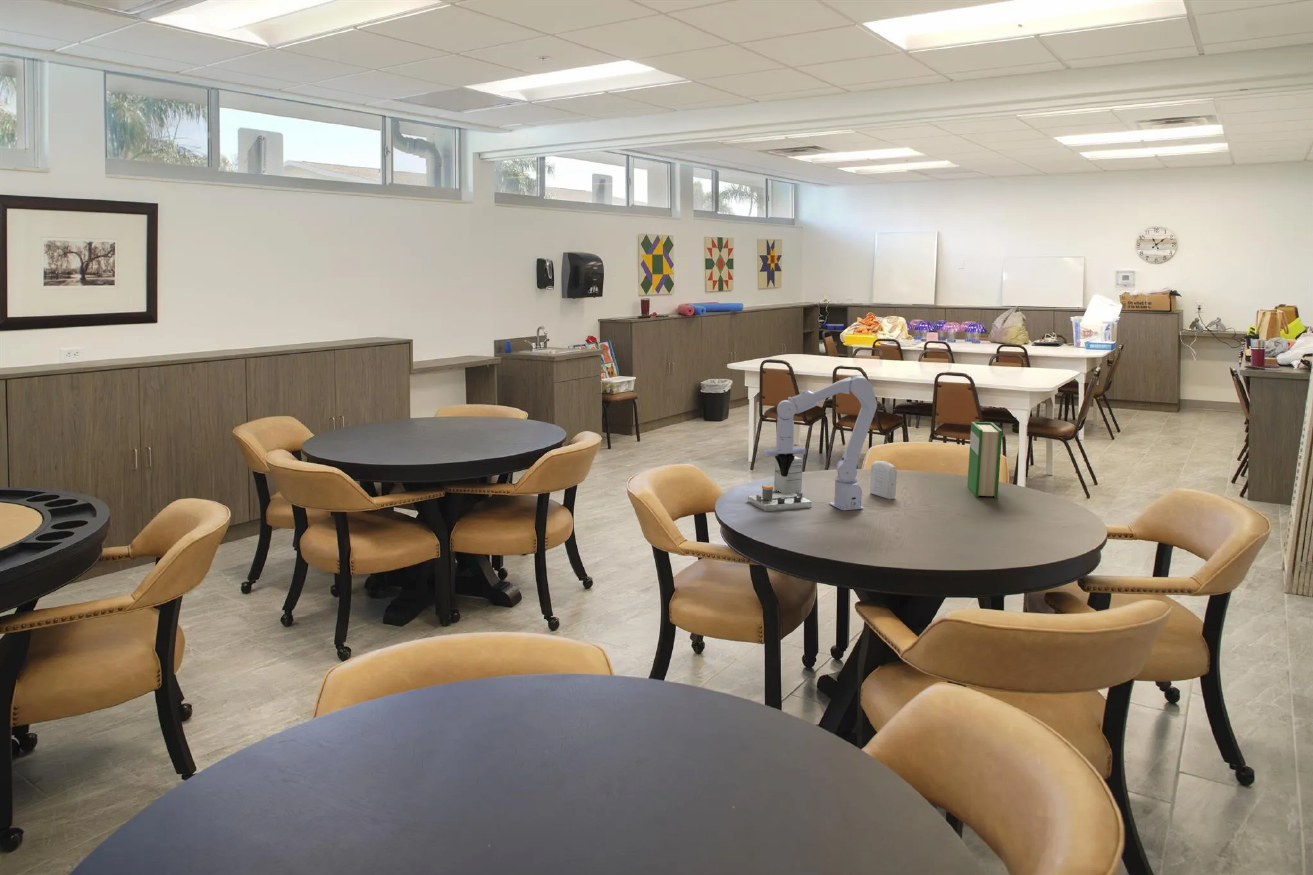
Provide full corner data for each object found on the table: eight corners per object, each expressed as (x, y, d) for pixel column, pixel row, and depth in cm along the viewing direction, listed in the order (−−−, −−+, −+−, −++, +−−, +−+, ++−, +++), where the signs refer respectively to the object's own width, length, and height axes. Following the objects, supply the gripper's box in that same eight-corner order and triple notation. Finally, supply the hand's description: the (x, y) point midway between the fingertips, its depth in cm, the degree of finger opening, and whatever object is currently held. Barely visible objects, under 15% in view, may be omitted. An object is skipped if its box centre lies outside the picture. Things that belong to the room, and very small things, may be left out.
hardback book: (997, 498, 325) (1002, 430, 321) (975, 497, 326) (979, 430, 322) (988, 487, 342) (992, 422, 338) (967, 486, 343) (971, 421, 339)
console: (811, 507, 312) (811, 496, 311) (765, 511, 307) (765, 500, 306) (792, 497, 325) (792, 487, 324) (747, 501, 320) (748, 491, 319)
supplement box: (773, 490, 336) (774, 456, 334) (790, 488, 339) (791, 454, 337) (784, 494, 329) (785, 459, 327) (802, 492, 332) (803, 458, 330)
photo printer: (897, 498, 325) (899, 463, 323) (887, 499, 323) (889, 464, 321) (877, 492, 334) (878, 458, 332) (868, 493, 332) (869, 459, 330)
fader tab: (772, 499, 313) (773, 486, 312) (765, 500, 312) (766, 487, 311) (768, 497, 316) (769, 484, 315) (761, 498, 315) (762, 485, 314)
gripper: (799, 433, 318) (798, 472, 321) (760, 435, 314) (759, 475, 316) (808, 436, 312) (807, 476, 314) (769, 439, 307) (768, 479, 310)
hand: (784, 476), depth 315 cm, fingers closed
